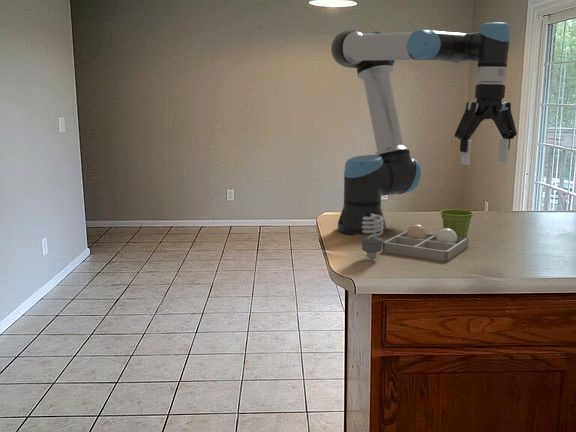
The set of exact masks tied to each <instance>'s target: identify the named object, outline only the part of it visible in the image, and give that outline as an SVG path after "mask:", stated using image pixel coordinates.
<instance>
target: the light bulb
mask: <svg viewBox="0 0 576 432" xmlns="http://www.w3.org/2000/svg"><path fill="white" fill-rule="evenodd" d="M375 217H376V218H375ZM377 218H380V219H377ZM363 220H373V221H363V222H362V224H365V225H363V226H362V228H363V229H375V230H362V232H363V233H372V234H368V236H365V237H363V238H362V239H361V250H362V251H363V252H366V256H367V258H369V259H371V260H373V259H375V258H376V257H377V253H379V252H380V253H381V251H382V248H383V242H384V241H383V239H382V238H380V236H381V235H383V233H384V232H383V229H384V227H383V224H384V223H383V217H382V216H379V215H376V214H371V217H363ZM379 223H381V224H379ZM370 224H372V225H374V226H369V225H370ZM379 227H381V228H379ZM376 232H380V233H377V234H376Z"/></svg>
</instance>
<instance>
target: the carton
mask: <svg viewBox="0 0 576 432" xmlns="http://www.w3.org/2000/svg"><path fill="white" fill-rule="evenodd" d="M407 231H408V229H407V230H405V231H404V232H402V233H400V234H397V235H395V236H393V237H391V238H388V239H387V240H385V241H382V242H383V243H382V250H381V251H382V252H383V253H389V254H396V255H402V256H403V255H404V256H410V257H415V258H416V257H417V258H421V259H429V260H434V261H441V262H448V261H450V260H452V259H453V258H454V257H456V256H457V255H459V254H460V253H461V252H463V251H464V250H466V249H467V248H468V245H469V238H468V237H467V238H462V237H457V242H456V244H451V243H444V242H437V241H436V236H437V233H431V232H427V237H426V239H425V240H422V239H415V238H408V237H407Z"/></svg>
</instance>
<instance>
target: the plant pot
mask: <svg viewBox="0 0 576 432" xmlns="http://www.w3.org/2000/svg"><path fill="white" fill-rule="evenodd" d="M439 214H441V219H442V224H443V225H442V226H443V229H444V228H449V229H452V230H453V231H454V232H455V233H456V235H457V237H462V238H468V232H469V228H470V223H471V220H472V216H473V215H474V212H473V211H470V210H465V209H442V210H440V211H439Z"/></svg>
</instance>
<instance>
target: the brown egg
mask: <svg viewBox="0 0 576 432" xmlns="http://www.w3.org/2000/svg"><path fill="white" fill-rule="evenodd" d="M407 230H408V231H407ZM407 230H406V231H407V237H408V238H415V239H422V240H425V239H426V237H427V233H428V231H427V229H426V228H425V227H424V226H423V225H421V224H412V225H410V226H409V228H408V229H407Z"/></svg>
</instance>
